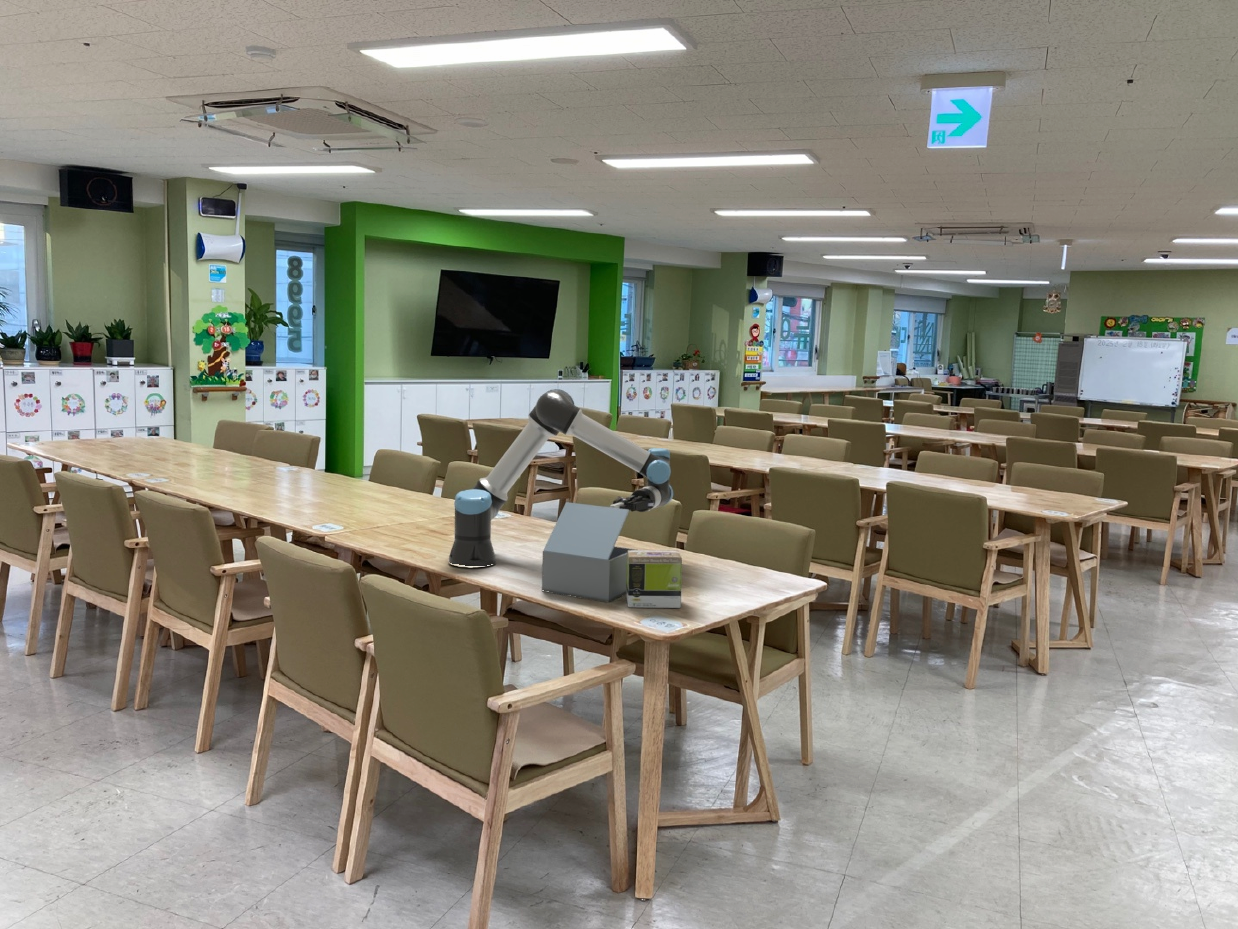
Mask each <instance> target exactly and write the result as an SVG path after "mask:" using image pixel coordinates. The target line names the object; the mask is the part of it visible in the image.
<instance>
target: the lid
mask: <svg viewBox="0 0 1238 929" xmlns="http://www.w3.org/2000/svg"><path fill="white" fill-rule="evenodd" d="M629 513H630V510H628V509H619V508H611V507H610V506H600V505H593V504H585V503H584V504H583V503H576V502H565V504H564V506H563V508H562V510H561V512H560V514H559V517H558V518H557V521H556V523H555V525H554V527H553V529H552V531H551V534H550V536H549V538H548V540H547V542H546V544H545V546H544V548H543V551H545V552H552V553H559V554H565V555H572V556H579V557H586V558H593V559H599V560H606V561H608V560H609V558H610V555H611V553H612V551H613V548H614V546H615V545H616V544H617V541H618V539H619V537H620V534H621V532H622V529H623V526H624V524H625V522H626V520H627V517H628V515H629Z"/></svg>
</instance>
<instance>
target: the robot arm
mask: <svg viewBox="0 0 1238 929" xmlns="http://www.w3.org/2000/svg"><path fill="white" fill-rule="evenodd" d="M559 433H562V434H563V435H565V436H569V435H570V436H573V437H575V438H577V439H578V440H580V441H582V442H583V443H586V444H587V445H589V446H591V447H592V448H595V449H596V450H598V451H600V452H602V453H604V454H605V455H607V456H609V457H610V458H613V459H614V460H616V461H617V462H619V463H621V464H623V465H624V466H627V467H628V468H630V469H632V470H634V471H635V472H637V473H638V474H640V475H642V476H643V477H645V478H646V486H644V487H642V488H638V489H636V490H634V491H632V493H631V495H630V496H626V498H624V497H622V496H617V498H616V499H614V500H613V501H612V504H610V505H609V507H611V508H619V509H628V510H629V511H631V512H638V513H644V512H645V513H646V512H650V511H651V510H653V509H656V508H659V507H663V506H665V505H667V504H669V503H670V502H671V501H672V500H673V497H674V489H673V487H672V486H671V484H670V477H671V473H672V470H671V466H670V465H671V461H670V460H671V455H670V454H671V451H670V450H669V449H667V448H663V447H662V448H661V447H658V448H657V447H655V448H649V449H648V450H647V449H645V448H643V447H642V446H640V445H638V444H636V443H634V442H633V441H630V440H629V439H627V438H625V437H624V436H622V435H620V434H619V433H617V432H615V431H614V430H611V429H610V428H609V427H606V426H605V425H603V424H601V423H600V422H598V421H597V420H594V419H592V418H591V417H589V416H587V415H585V414H584V413H583V410H582V408H580V407H578V406H576V404H575V402H574V398H573V397H572V395H570V394H569V392H566V390H565V391H564V390H562V389H560V388H553V389H550V390H548V391H546V392H544V393H543V394H542V395H540V397H539V398H538V399H537V401H536V404H535V406H534V407H533V408H532V410H531V411H530V412H529V413H528V422H527V424H525V426H524V427H523V429H522V431H520V432H519V434H518V436H517V437H516V438H515V439H514V441H513V442H512V444H511V445H510V446H509V448H508V449H507V450H506V451H505V453H504V454H503V456H501V458H500V459H499V461H498V462H497V463H496V465H495V466H494V467H493V469H492V470H491V471H490V472H489V473H488V475H487V476H485V477H481V478H479V479H478V480H477V482H476V483H475V485H474V486H473V488H471V489H465V490H461V491H458V492H457V493H456V495H455V497H454V504H453V505H454V541H453V543H452V546H451V549H450V552H449V555H448V563H449V562H450V563H452V564H459V565H465V566H487V565H491V564H495V563H496V561H497V557H496V553H495V551H494V550H495V549H494V547H493V544H492V539H491V538H492V537H491V536H492V535H491V534H492V533H491V532H492V520H494V519H495V518H496V516H497V515H498V514H499V511H500V510H501V509H502V507H503V506H504V505H505V503H506V502H507V501H508V500H509V498H508V497H509V496H508V492H509V491H510V489H512V487H513V486H514V485H515V483H516V482H517V481H518V479H519V478H520V477H521V475H522V474H523V473H524V471H525V470H526V469H527V467H528V466H529V465H530V464H531V462H532V461H533V459H534V458H535V457H536V455H537V454H538V453H539V451H541V449H542V448H543V447H544V445H545V444H546V442H547V441H548V440H549V439H550V438H552V437H557V435H558V434H559ZM495 565H496V564H495Z"/></svg>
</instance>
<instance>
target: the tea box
mask: <svg viewBox="0 0 1238 929" xmlns="http://www.w3.org/2000/svg"><path fill="white" fill-rule="evenodd" d="M679 551H680V550H678V549H676V550H675V549H673V550H666V549H663V550H662V549H637V550H627V584H626V594H625V595H626V600H627V607H628V608H641V609H644V608H650V609H651V608H654V609H655V608H656V609H657V608H660V609H664V608H665V609H680V608H682V607H681V606H682V580H683V579H682V578H683V577H682V575H683V574H682V573H683V572H682V569H683V567H682V566H683V564H682V563H683V558H682V555H681V553H680V552H679Z"/></svg>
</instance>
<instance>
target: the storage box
mask: <svg viewBox="0 0 1238 929" xmlns="http://www.w3.org/2000/svg"><path fill="white" fill-rule="evenodd" d="M627 550H638V549H635V548H629V547H621V546H614V548H613V551H612V553H611V555H610V558H609V560H608V561H606V560H599V559H593V558H586V557H579V556H572V555H565V554H559V553H552V552H545V551H544V550H542V565H541V566H542V567H541V568H542V569H541V570H542V572H541V574H542V575H541V591H542V590H544V591H549V592H553V593H552V594H555V593H557V595H561V594H562V595H561V596H567V595H571V596H570V597H572V596H576V597H575V598H578V597H581V598H580V599H584V598H585V600H590V599H591V600H590V601H595V602H596V601H598V602H602V601H603V603H611V602H612V601H615V600H617V599H619V598H621V597H623V596H625V595H626V584H627ZM549 592H548V593H549ZM622 595H623V596H622Z"/></svg>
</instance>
